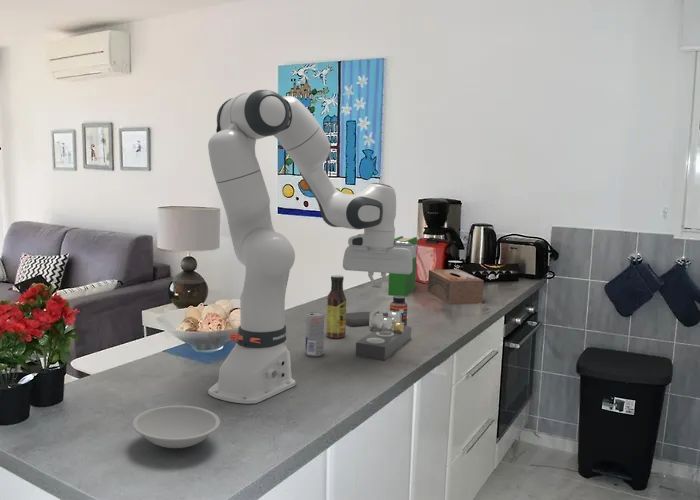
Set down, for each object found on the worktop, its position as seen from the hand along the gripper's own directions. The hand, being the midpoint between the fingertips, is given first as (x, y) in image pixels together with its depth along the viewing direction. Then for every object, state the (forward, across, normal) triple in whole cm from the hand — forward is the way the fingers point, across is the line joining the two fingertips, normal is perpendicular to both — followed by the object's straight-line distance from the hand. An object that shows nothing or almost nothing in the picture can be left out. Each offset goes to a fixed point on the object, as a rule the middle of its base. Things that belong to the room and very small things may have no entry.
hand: (376, 287), depth 168 cm
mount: (+20, -3, -8) cm, 22 cm away
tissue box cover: (+19, -28, -84) cm, 90 cm away
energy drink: (+21, +17, +3) cm, 27 cm away
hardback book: (+19, -6, -88) cm, 91 cm away
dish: (+22, +33, +63) cm, 74 cm away
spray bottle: (+20, +3, -38) cm, 43 cm away
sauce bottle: (+20, +13, -16) cm, 29 cm away
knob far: (+15, -5, -15) cm, 22 cm away
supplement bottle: (+20, -6, -29) cm, 35 cm away
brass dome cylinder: (+16, -7, -11) cm, 20 cm away
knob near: (+13, 0, 0) cm, 13 cm away
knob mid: (+16, -3, -8) cm, 18 cm away
